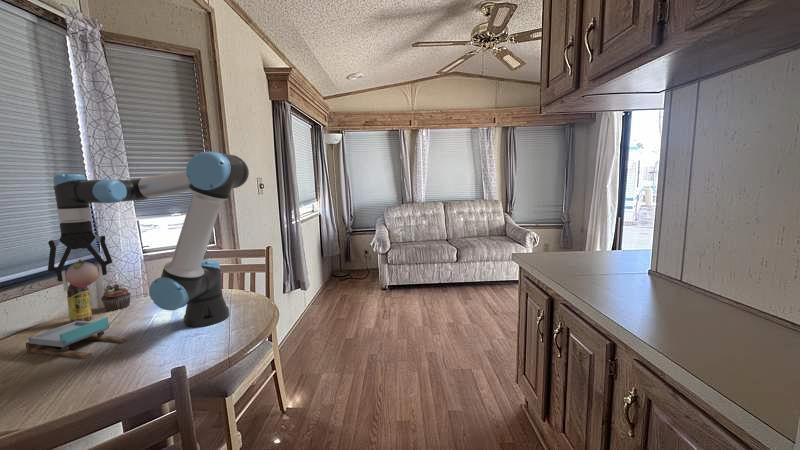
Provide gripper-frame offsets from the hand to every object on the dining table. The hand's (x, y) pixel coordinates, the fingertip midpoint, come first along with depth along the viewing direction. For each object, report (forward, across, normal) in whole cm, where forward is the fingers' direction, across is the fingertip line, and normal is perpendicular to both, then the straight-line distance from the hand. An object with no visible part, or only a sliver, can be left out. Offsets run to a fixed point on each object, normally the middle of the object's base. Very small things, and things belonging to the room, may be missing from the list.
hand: (84, 287), depth 112 cm
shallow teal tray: (+16, +4, +5) cm, 18 cm away
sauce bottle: (+18, +3, -21) cm, 28 cm away
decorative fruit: (0, 0, 0) cm, 0 cm away
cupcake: (+18, -8, -30) cm, 36 cm away
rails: (+17, +3, +7) cm, 19 cm away
